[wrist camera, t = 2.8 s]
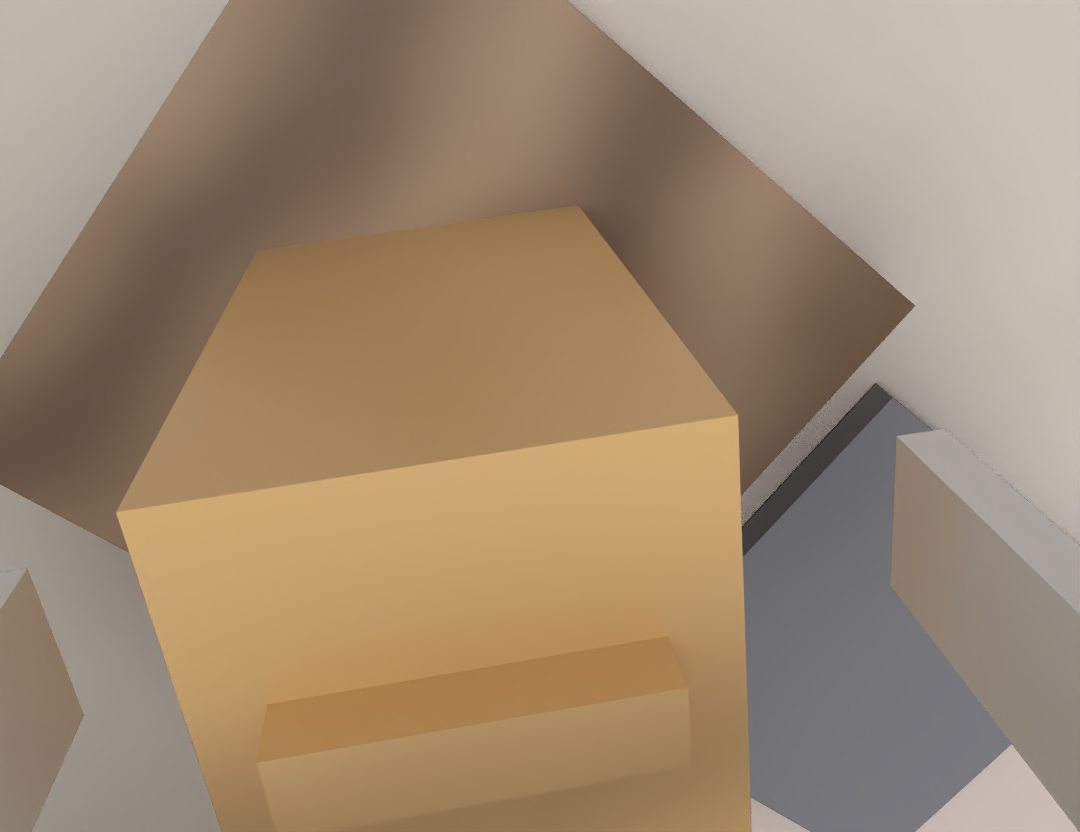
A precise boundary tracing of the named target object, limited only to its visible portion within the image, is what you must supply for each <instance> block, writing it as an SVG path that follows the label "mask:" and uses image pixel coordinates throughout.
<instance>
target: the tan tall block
mask: <svg viewBox="0 0 1080 832" xmlns="http://www.w3.org/2000/svg"><path fill="white" fill-rule="evenodd" d="M116 514H117V517H118V520H119V523H120V526H121V529H122V532H123V535H124V538H125V541H126V544H127V547H128V550H129V553H130V556H131V559H132V562H133V565H134V568H135V571H136V574H137V577H138V580H139V583H140V586H141V589H142V592H143V595H144V598H145V601H146V604H147V607H148V610H149V613H150V616H151V619H152V622H153V626H154V629H155V632H156V635H157V638H158V641H159V644H160V647H161V650H162V653H163V656H164V659H165V662H166V665H167V668H168V671H169V674H170V677H171V680H172V683H173V686H174V689H175V692H176V695H177V698H178V701H179V704H180V707H181V710H182V713H183V716H184V719H185V722H186V725H187V728H188V731H189V734H190V737H191V740H192V743H193V746H194V749H195V752H196V755H197V758H198V762H199V765H200V768H201V771H202V774H203V777H204V780H205V783H206V786H207V789H208V792H209V795H210V798H211V801H212V804H213V807H214V810H215V813H216V816H217V819H218V822H219V825H220V828H221V831H222V832H752V826H751V795H750V765H749V734H748V704H747V673H746V642H745V612H744V581H743V551H742V520H741V490H740V459H739V429H738V414H737V413H736V412H735V410H734V409H733V408H732V406H731V405H730V404H729V403H728V401H727V400H726V399H725V397H724V396H723V395H722V393H721V392H720V391H719V389H718V388H717V387H716V385H715V384H714V383H713V381H712V380H711V379H710V378H709V376H708V375H707V374H706V372H705V371H704V370H703V368H702V367H701V366H700V364H699V363H698V362H697V360H696V359H695V358H694V357H693V355H692V354H691V353H690V351H689V350H688V349H687V347H686V346H685V345H684V343H683V342H682V341H681V339H680V338H679V337H678V335H677V334H676V333H675V332H674V330H673V329H672V328H671V326H670V325H669V324H668V322H667V321H666V320H665V318H664V317H663V316H662V314H661V313H660V312H659V311H658V309H657V308H656V307H655V305H654V304H653V303H652V301H651V300H650V299H649V297H648V296H647V295H646V293H645V292H644V291H643V289H642V288H641V287H640V286H639V284H638V283H637V282H636V280H635V279H634V278H633V276H632V275H631V274H630V272H629V271H628V270H627V268H626V267H625V266H624V265H623V263H622V262H621V261H620V259H619V258H618V257H617V255H616V254H615V253H614V251H613V250H612V249H611V247H610V246H609V245H608V243H607V242H606V241H605V240H604V238H603V237H602V236H601V234H600V233H599V232H598V230H597V229H596V228H595V226H594V225H593V224H592V222H591V221H590V220H589V219H588V217H587V216H586V215H585V213H584V212H583V211H582V209H581V208H580V207H579V205H578V206H571V207H563V208H556V209H549V210H542V211H535V212H528V213H521V214H513V215H506V216H499V217H492V218H485V219H478V220H471V221H464V222H456V223H449V224H442V225H435V226H428V227H421V228H414V229H406V230H399V231H392V232H385V233H378V234H371V235H364V236H357V237H349V238H342V239H335V240H328V241H321V242H314V243H307V244H299V245H292V246H285V247H278V248H271V249H264V250H257V251H256V253H255V254H254V256H253V258H252V260H251V262H250V264H249V266H248V267H247V269H246V271H245V273H244V275H243V277H242V279H241V280H240V282H239V284H238V286H237V288H236V290H235V292H234V294H233V295H232V297H231V299H230V301H229V303H228V305H227V307H226V308H225V310H224V312H223V314H222V316H221V318H220V320H219V321H218V323H217V325H216V327H215V329H214V331H213V333H212V334H211V336H210V338H209V340H208V342H207V344H206V346H205V347H204V349H203V351H202V353H201V355H200V357H199V359H198V361H197V362H196V364H195V366H194V368H193V370H192V372H191V374H190V375H189V377H188V379H187V381H186V383H185V385H184V387H183V388H182V390H181V392H180V394H179V396H178V398H177V400H176V401H175V403H174V405H173V407H172V409H171V411H170V413H169V415H168V416H167V418H166V420H165V422H164V424H163V426H162V428H161V429H160V431H159V433H158V435H157V437H156V439H155V441H154V442H153V444H152V446H151V448H150V450H149V452H148V454H147V455H146V457H145V459H144V461H143V463H142V465H141V467H140V468H139V470H138V472H137V474H136V476H135V478H134V480H133V482H132V483H131V485H130V487H129V489H128V491H127V493H126V495H125V496H124V498H123V500H122V502H121V504H120V506H119V508H118V509H117V511H116Z"/></svg>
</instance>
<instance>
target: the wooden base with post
mask: <svg viewBox="0 0 1080 832" xmlns="http://www.w3.org/2000/svg"><path fill="white" fill-rule="evenodd" d="M578 205H579V207H580V208H581V209H582V211H583V212H584V213H585V215H586V216H587V217H588V219H589V220H590V221H591V222H592V224H593V225H594V226H595V228H596V229H597V230H598V232H599V233H600V234H601V236H602V237H603V238H604V240H605V241H606V242H607V243H608V245H609V246H610V247H611V249H612V250H613V251H614V253H615V254H616V255H617V257H618V258H619V259H620V261H621V262H622V263H623V265H624V266H625V267H626V268H627V270H628V271H629V272H630V274H631V275H632V276H633V278H634V279H635V280H636V282H637V283H638V284H639V286H640V287H641V288H642V289H643V291H644V292H645V293H646V295H647V296H648V297H649V299H650V300H651V301H652V303H653V304H654V305H655V307H656V308H657V309H658V311H659V312H660V313H661V314H662V316H663V317H664V318H665V320H666V321H667V322H668V324H669V325H670V326H671V328H672V329H673V330H674V332H675V333H676V334H677V335H678V337H679V338H680V339H681V341H682V342H683V343H684V345H685V346H686V347H687V349H688V350H689V351H690V353H691V354H692V355H693V357H694V358H695V359H696V360H697V362H698V363H699V364H700V366H701V367H702V368H703V370H704V371H705V372H706V374H707V375H708V376H709V378H710V379H711V380H712V381H713V383H714V384H715V385H716V387H717V388H718V389H719V391H720V392H721V393H722V395H723V396H724V397H725V399H726V400H727V401H728V403H729V404H730V405H731V406H732V408H733V409H734V410H735V412H736V413H737V414H738V429H739V459H740V490H741V495H742V494H743V493H744V492H745V491H746V489H747V488H748V487H749V486H750V485H751V484H752V483H753V482H754V481H755V480H756V479H757V477H758V476H759V475H760V474H761V473H762V472H763V471H764V470H765V469H766V468H767V467H768V465H769V464H770V463H771V462H772V461H773V460H774V459H775V458H776V457H777V456H778V455H779V454H780V452H781V451H782V450H783V449H784V448H785V447H786V446H787V445H788V444H789V443H790V442H791V440H792V439H793V438H794V437H795V436H796V435H797V434H798V433H799V432H800V431H801V430H802V428H803V427H804V426H805V425H806V424H807V423H808V422H809V421H810V420H811V419H812V418H813V416H814V415H815V414H816V413H817V412H818V411H819V410H820V409H821V408H822V407H823V406H824V404H825V403H826V402H827V401H828V400H829V399H830V398H831V397H832V396H833V395H834V394H835V392H836V391H837V390H838V389H839V388H840V387H841V386H842V385H843V384H844V383H845V382H846V381H847V379H848V378H849V377H850V376H851V375H852V374H853V373H854V372H855V371H856V370H857V369H858V367H859V366H860V365H861V364H862V363H863V362H864V361H865V360H866V359H867V358H868V357H869V355H870V354H871V353H872V352H873V351H874V350H875V349H876V348H877V347H878V346H879V345H880V343H881V342H882V341H883V340H884V339H885V338H886V337H887V336H888V335H889V334H890V333H891V331H892V330H893V329H894V328H895V327H896V326H897V325H898V324H899V323H900V322H901V321H902V319H903V318H904V317H905V316H906V315H907V314H908V313H909V312H910V311H911V310H912V309H913V308H914V306H915V305H914V304H913V303H911V302H910V301H909V300H908V299H907V298H906V297H905V296H903V295H902V294H901V293H900V292H899V291H898V290H897V289H895V288H894V287H893V286H892V285H891V284H890V283H889V282H887V281H886V280H885V279H884V278H883V277H882V276H881V275H879V274H878V273H877V272H876V271H875V270H874V269H873V268H872V267H870V266H869V265H868V264H867V263H866V262H865V261H864V260H862V259H861V258H860V257H859V256H858V255H857V254H856V253H854V252H853V251H852V250H851V249H850V248H849V247H848V246H846V245H845V244H844V243H843V242H842V241H841V240H840V239H838V238H837V237H836V236H835V235H834V234H833V233H832V232H830V231H829V230H828V229H827V228H826V227H825V226H824V225H823V224H821V223H820V222H819V221H818V220H817V219H816V218H815V217H813V216H812V215H811V214H810V213H809V212H808V211H807V210H805V209H804V208H803V207H802V206H801V205H800V204H799V203H797V202H796V201H795V200H794V199H793V198H792V197H791V196H789V195H788V194H787V193H786V192H785V191H784V190H783V189H781V188H780V187H779V186H778V185H777V184H776V183H775V182H773V181H772V180H771V179H770V178H769V177H768V176H767V175H766V174H764V173H763V172H762V171H761V170H760V169H759V168H758V167H756V166H755V165H754V164H753V163H752V162H751V161H750V160H748V159H747V158H746V157H745V156H744V155H743V154H742V153H740V152H739V151H738V150H737V149H736V148H735V147H734V146H732V145H731V144H730V143H729V142H728V141H727V140H726V139H724V138H723V137H722V136H721V135H720V134H719V133H718V132H716V131H715V130H714V129H713V128H712V127H711V126H710V125H709V124H707V123H706V122H705V121H704V120H703V119H702V118H701V117H699V116H698V115H697V114H696V113H695V112H694V111H693V110H691V109H690V108H689V107H688V106H687V105H686V104H685V103H683V102H682V101H681V100H680V99H679V98H678V97H677V96H675V95H674V94H673V93H672V92H671V91H670V90H669V89H667V88H666V87H665V86H664V85H663V84H662V83H661V82H659V81H658V80H657V79H656V78H655V77H654V76H653V75H652V74H650V73H649V72H648V71H647V70H646V69H645V68H644V67H642V66H641V65H640V64H639V63H638V62H637V61H636V60H634V59H633V58H632V57H631V56H630V55H629V54H628V53H626V52H625V51H624V50H623V49H622V48H621V47H620V46H618V45H617V44H616V43H615V42H614V41H613V40H612V39H610V38H609V37H608V36H607V35H606V34H605V33H604V32H603V31H601V30H600V29H599V28H598V27H597V26H596V25H595V24H593V23H592V22H591V21H590V20H589V19H588V18H587V17H585V16H584V15H583V14H582V13H581V12H580V11H579V10H577V9H576V8H575V7H574V6H573V5H572V4H571V3H569V2H568V1H567V0H230V1H229V2H228V4H227V5H226V7H225V8H224V10H223V11H222V13H221V15H220V16H219V18H218V19H217V21H216V22H215V24H214V26H213V27H212V29H211V30H210V32H209V33H208V35H207V36H206V38H205V40H204V41H203V43H202V44H201V46H200V47H199V49H198V51H197V52H196V54H195V55H194V57H193V58H192V60H191V61H190V63H189V65H188V66H187V68H186V69H185V71H184V72H183V74H182V76H181V77H180V79H179V80H178V82H177V83H176V85H175V86H174V88H173V90H172V91H171V93H170V94H169V96H168V97H167V99H166V101H165V102H164V104H163V105H162V107H161V108H160V110H159V111H158V113H157V115H156V116H155V118H154V119H153V121H152V122H151V124H150V126H149V127H148V129H147V130H146V132H145V133H144V135H143V136H142V138H141V140H140V141H139V143H138V144H137V146H136V147H135V149H134V151H133V152H132V154H131V155H130V157H129V158H128V160H127V161H126V163H125V165H124V166H123V168H122V169H121V171H120V172H119V174H118V176H117V177H116V179H115V180H114V182H113V183H112V185H111V186H110V188H109V190H108V191H107V193H106V194H105V196H104V197H103V199H102V201H101V202H100V204H99V205H98V207H97V208H96V210H95V211H94V213H93V215H92V216H91V218H90V219H89V221H88V222H87V224H86V226H85V227H84V229H83V230H82V232H81V233H80V235H79V236H78V238H77V240H76V241H75V243H74V244H73V246H72V247H71V249H70V251H69V252H68V254H67V255H66V257H65V258H64V260H63V261H62V263H61V265H60V266H59V268H58V269H57V271H56V272H55V274H54V276H53V277H52V279H51V280H50V282H49V283H48V285H47V286H46V288H45V290H44V291H43V293H42V294H41V296H40V297H39V299H38V301H37V302H36V304H35V305H34V307H33V308H32V310H31V311H30V313H29V315H28V316H27V318H26V319H25V321H24V322H23V324H22V326H21V327H20V329H19V330H18V332H17V333H16V335H15V336H14V338H13V340H12V341H11V343H10V344H9V346H8V347H7V349H6V351H5V352H4V354H3V355H2V357H1V358H0V484H1V485H3V486H4V487H6V488H8V489H10V490H12V491H14V492H16V493H18V494H20V495H21V496H23V497H25V498H27V499H29V500H31V501H33V502H35V503H37V504H38V505H40V506H42V507H44V508H46V509H48V510H50V511H52V512H53V513H55V514H57V515H59V516H61V517H63V518H65V519H67V520H69V521H70V522H72V523H74V524H76V525H78V526H80V527H82V528H84V529H86V530H87V531H89V532H91V533H93V534H95V535H97V536H99V537H101V538H102V539H104V540H106V541H108V542H110V543H112V544H114V545H116V546H118V547H119V548H121V549H123V550H125V551H127V552H129V550H128V547H127V544H126V541H125V538H124V535H123V532H122V529H121V526H120V523H119V520H118V517H117V514H116V511H117V509H118V508H119V506H120V504H121V502H122V500H123V498H124V496H125V495H126V493H127V491H128V489H129V487H130V485H131V483H132V482H133V480H134V478H135V476H136V474H137V472H138V470H139V468H140V467H141V465H142V463H143V461H144V459H145V457H146V455H147V454H148V452H149V450H150V448H151V446H152V444H153V442H154V441H155V439H156V437H157V435H158V433H159V431H160V429H161V428H162V426H163V424H164V422H165V420H166V418H167V416H168V415H169V413H170V411H171V409H172V407H173V405H174V403H175V401H176V400H177V398H178V396H179V394H180V392H181V390H182V388H183V387H184V385H185V383H186V381H187V379H188V377H189V375H190V374H191V372H192V370H193V368H194V366H195V364H196V362H197V361H198V359H199V357H200V355H201V353H202V351H203V349H204V347H205V346H206V344H207V342H208V340H209V338H210V336H211V334H212V333H213V331H214V329H215V327H216V325H217V323H218V321H219V320H220V318H221V316H222V314H223V312H224V310H225V308H226V307H227V305H228V303H229V301H230V299H231V297H232V295H233V294H234V292H235V290H236V288H237V286H238V284H239V282H240V280H241V279H242V277H243V275H244V273H245V271H246V269H247V267H248V266H249V264H250V262H251V260H252V258H253V256H254V254H255V253H256V251H257V250H264V249H271V248H278V247H285V246H292V245H299V244H307V243H314V242H321V241H328V240H335V239H342V238H349V237H357V236H364V235H371V234H378V233H385V232H392V231H399V230H406V229H414V228H421V227H428V226H435V225H442V224H449V223H456V222H464V221H471V220H478V219H485V218H492V217H499V216H506V215H513V214H521V213H528V212H535V211H542V210H549V209H556V208H563V207H571V206H578Z"/></svg>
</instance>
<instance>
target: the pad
mask: <svg viewBox="0 0 1080 832" xmlns="http://www.w3.org/2000/svg"><path fill="white" fill-rule="evenodd" d="M927 431H933V430H932V429H931V428H929V427H928V426H927V425H926V424H925V423H923V422H922V421H921V420H920V419H918V418H917V417H916V416H915V415H914V414H912V413H911V412H910V411H909V410H907V409H906V408H905V407H904V406H903V405H901V404H900V403H899V402H898V401H897V400H895V399H894V398H893V397H892V396H890V395H889V394H888V393H887V392H886V391H884V390H883V389H882V388H881V387H879V386H878V385H877V384H875V385H874V386H873V387H872V388H871V389H870V391H869V392H868V393H867V394H866V395H865V396H864V397H863V398H862V399H861V400H860V401H859V402H858V403H857V405H856V406H855V407H854V408H853V409H852V410H851V411H850V412H849V413H848V414H847V415H846V416H845V417H844V419H843V420H842V421H841V422H840V423H839V424H838V425H837V426H836V427H835V428H834V429H833V430H832V431H831V433H830V434H829V435H828V436H827V437H826V438H825V439H824V440H823V441H822V442H821V443H820V444H819V445H818V447H817V448H816V449H815V450H814V451H813V452H812V453H811V454H810V455H809V456H808V457H807V458H806V459H805V461H804V462H803V463H802V464H801V465H800V466H799V467H798V468H797V469H796V470H795V471H794V472H793V473H792V475H791V476H790V477H789V478H788V479H787V480H786V481H785V482H784V483H783V484H782V485H781V486H780V487H779V489H778V490H777V491H776V492H775V493H774V494H773V495H772V496H771V497H770V498H769V499H768V500H767V501H766V503H765V504H764V505H763V506H762V507H761V508H760V509H759V510H758V511H757V512H756V513H755V514H754V516H753V517H752V518H751V519H750V520H749V521H748V522H747V523H746V524H745V525H744V526H743V527H742V551H743V581H744V612H745V642H746V673H747V704H748V734H749V765H750V795H751V798H753V799H755V800H756V801H758V802H760V803H762V804H763V805H765V806H767V807H769V808H770V809H772V810H774V811H776V812H777V813H779V814H781V815H783V816H784V817H786V818H788V819H790V820H791V821H793V822H795V823H797V824H798V825H800V826H802V827H804V828H805V829H807V830H809V831H811V832H915V831H916V830H918V829H919V828H920V827H921V826H922V825H923V824H924V823H925V822H926V821H927V820H929V819H930V818H931V817H932V816H933V815H934V814H935V813H936V812H937V811H938V810H940V809H941V808H942V807H943V806H944V805H945V804H946V803H947V802H948V801H949V800H951V799H952V798H953V797H954V796H955V795H956V794H957V793H958V792H959V791H960V790H962V789H963V788H964V787H965V786H966V785H967V784H968V783H969V782H970V781H971V780H973V779H974V778H975V777H976V776H977V775H978V774H979V773H980V772H981V771H982V770H984V769H985V768H986V767H987V766H988V765H989V764H990V763H991V762H992V761H993V760H995V759H996V758H997V757H998V756H999V755H1000V754H1001V753H1002V752H1003V751H1004V750H1006V749H1007V748H1008V747H1009V746H1010V745H1011V742H1010V741H1009V740H1008V738H1007V737H1006V736H1005V734H1004V733H1003V732H1002V731H1001V729H1000V728H999V727H998V725H997V724H996V723H995V721H994V720H993V719H992V717H991V716H990V715H989V714H988V712H987V711H986V710H985V708H984V707H983V706H982V704H981V703H980V702H979V701H978V699H977V698H976V697H975V695H974V694H973V693H972V691H971V690H970V689H969V688H968V686H967V685H966V684H965V682H964V681H963V680H962V678H961V677H960V676H959V674H958V673H957V672H956V671H955V669H954V668H953V667H952V665H951V664H950V663H949V661H948V660H947V659H946V658H945V656H944V655H943V654H942V652H941V651H940V650H939V648H938V647H937V646H936V645H935V643H934V642H933V641H932V639H931V638H930V637H929V635H928V634H927V633H926V631H925V630H924V629H923V628H922V626H921V625H920V624H919V622H918V621H917V620H916V618H915V617H914V616H913V615H912V613H911V612H910V611H909V609H908V608H907V607H906V605H905V604H904V603H903V601H902V600H901V599H900V598H899V596H898V595H897V594H896V592H895V591H894V590H893V588H892V587H891V563H892V539H893V514H894V490H895V465H896V440H897V436H901V435H907V434H914V433H920V432H927Z"/></svg>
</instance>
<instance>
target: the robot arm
mask: <svg viewBox="0 0 1080 832" xmlns="http://www.w3.org/2000/svg"><path fill="white" fill-rule="evenodd" d="M891 587H892V588H893V590H894V591H895V592H896V594H897V595H898V596H899V598H900V599H901V600H902V601H903V603H904V604H905V605H906V607H907V608H908V609H909V611H910V612H911V613H912V615H913V616H914V617H915V618H916V620H917V621H918V622H919V624H920V625H921V626H922V628H923V629H924V630H925V631H926V633H927V634H928V635H929V637H930V638H931V639H932V641H933V642H934V643H935V645H936V646H937V647H938V648H939V650H940V651H941V652H942V654H943V655H944V656H945V658H946V659H947V660H948V661H949V663H950V664H951V665H952V667H953V668H954V669H955V671H956V672H957V673H958V674H959V676H960V677H961V678H962V680H963V681H964V682H965V684H966V685H967V686H968V688H969V689H970V690H971V691H972V693H973V694H974V695H975V697H976V698H977V699H978V701H979V702H980V703H981V704H982V706H983V707H984V708H985V710H986V711H987V712H988V714H989V715H990V716H991V717H992V719H993V720H994V721H995V723H996V724H997V725H998V727H999V728H1000V729H1001V731H1002V732H1003V733H1004V734H1005V736H1006V737H1007V738H1008V740H1009V741H1010V742H1011V744H1012V745H1013V746H1014V747H1015V749H1016V750H1017V751H1018V753H1019V754H1020V755H1021V757H1022V758H1023V759H1024V761H1025V762H1026V763H1027V764H1028V766H1029V767H1030V768H1031V770H1032V771H1033V772H1034V774H1035V775H1036V776H1037V777H1038V779H1039V780H1040V781H1041V783H1042V784H1043V785H1044V787H1045V788H1046V789H1047V790H1048V792H1049V793H1050V794H1051V796H1052V797H1053V798H1054V800H1055V801H1056V802H1057V804H1058V805H1059V806H1060V807H1061V809H1062V810H1063V811H1064V813H1065V814H1066V815H1067V817H1068V818H1069V819H1070V820H1071V822H1072V823H1073V824H1074V826H1075V827H1076V828H1077V830H1078V831H1079V832H1080V546H1079V545H1078V544H1077V543H1076V542H1075V541H1073V540H1072V539H1071V538H1070V537H1069V536H1068V535H1067V534H1065V533H1064V532H1063V531H1062V530H1061V529H1060V528H1058V527H1057V526H1056V525H1055V524H1054V523H1053V522H1052V521H1050V520H1049V519H1048V518H1047V517H1046V516H1045V515H1044V514H1042V513H1041V512H1040V511H1039V510H1038V509H1037V508H1035V507H1034V506H1033V505H1032V504H1031V503H1030V502H1029V501H1027V500H1026V499H1025V498H1024V497H1023V496H1022V495H1021V494H1019V493H1018V492H1017V491H1016V490H1015V489H1014V488H1012V487H1011V486H1010V485H1009V484H1008V483H1007V482H1006V481H1004V480H1003V479H1002V478H1001V477H1000V476H999V475H998V474H996V473H995V472H994V471H993V470H992V469H991V468H989V467H988V466H987V465H986V464H985V463H984V462H983V461H981V460H980V459H979V458H978V457H977V456H976V455H975V454H973V453H972V452H971V451H970V450H969V449H968V448H966V447H965V446H964V445H963V444H962V443H961V442H960V441H958V440H957V439H956V438H955V437H954V436H953V435H952V434H950V433H949V432H948V431H947V430H946V429H940V430H934V431H927V432H920V433H914V434H907V435H901V436H897V440H896V465H895V490H894V514H893V539H892V563H891ZM83 716H84V714H83V712H82V709H81V706H80V704H79V701H78V699H77V696H76V693H75V691H74V688H73V686H72V683H71V680H70V678H69V675H68V673H67V670H66V667H65V665H64V662H63V660H62V657H61V654H60V652H59V649H58V647H57V644H56V641H55V639H54V636H53V634H52V631H51V628H50V626H49V623H48V621H47V618H46V615H45V613H44V610H43V608H42V605H41V602H40V600H39V597H38V595H37V592H36V589H35V587H34V584H33V582H32V579H31V576H30V574H29V571H28V569H27V568H26V569H20V570H13V571H6V572H0V832H31V831H32V829H33V827H34V825H35V822H36V820H37V818H38V816H39V814H40V811H41V809H42V807H43V805H44V803H45V800H46V798H47V796H48V794H49V792H50V789H51V787H52V785H53V783H54V780H55V778H56V776H57V774H58V772H59V769H60V767H61V765H62V763H63V761H64V758H65V756H66V754H67V752H68V749H69V747H70V745H71V743H72V741H73V738H74V736H75V734H76V732H77V730H78V727H79V725H80V723H81V721H82V718H83Z"/></svg>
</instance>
